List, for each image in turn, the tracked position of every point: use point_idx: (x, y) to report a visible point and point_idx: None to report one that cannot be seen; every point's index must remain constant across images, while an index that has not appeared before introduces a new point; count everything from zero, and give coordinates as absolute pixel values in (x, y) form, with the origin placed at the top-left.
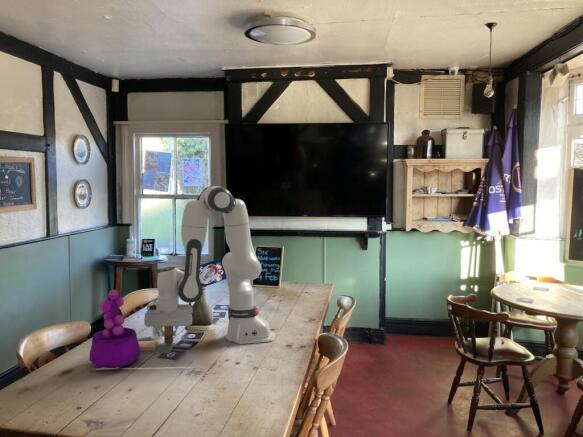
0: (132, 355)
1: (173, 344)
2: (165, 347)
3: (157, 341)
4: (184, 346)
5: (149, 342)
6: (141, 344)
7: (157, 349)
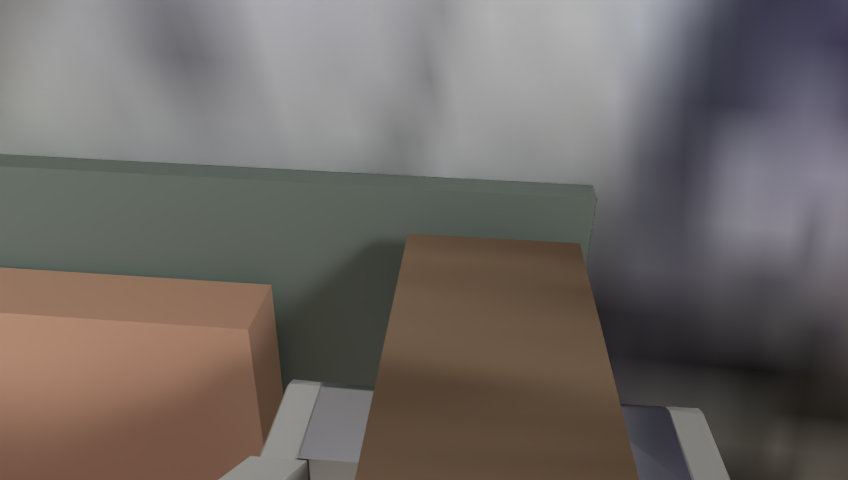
0: None
1: None
2: None
3: (241, 345)
4: (797, 297)
5: (99, 378)
6: (1, 449)
7: None
